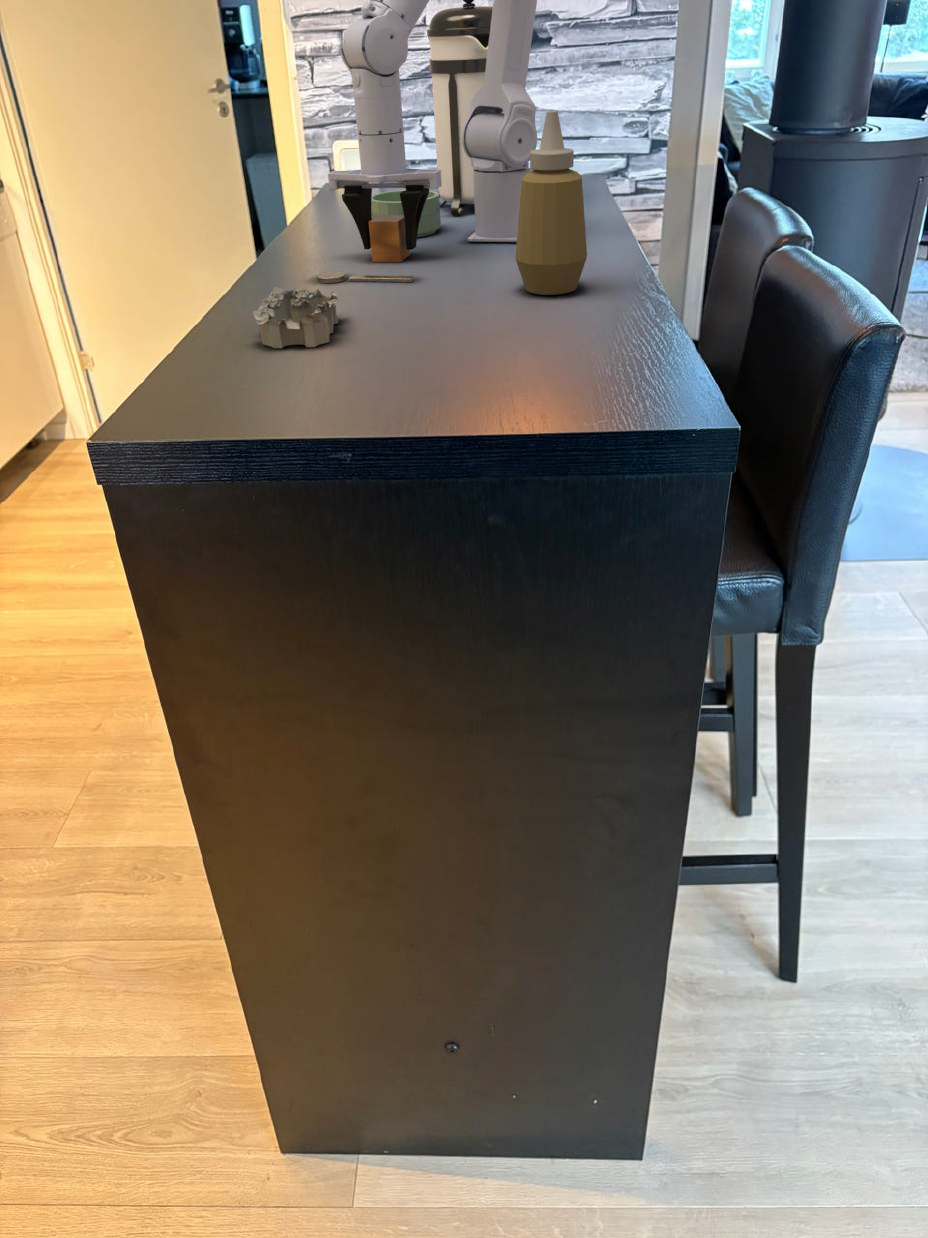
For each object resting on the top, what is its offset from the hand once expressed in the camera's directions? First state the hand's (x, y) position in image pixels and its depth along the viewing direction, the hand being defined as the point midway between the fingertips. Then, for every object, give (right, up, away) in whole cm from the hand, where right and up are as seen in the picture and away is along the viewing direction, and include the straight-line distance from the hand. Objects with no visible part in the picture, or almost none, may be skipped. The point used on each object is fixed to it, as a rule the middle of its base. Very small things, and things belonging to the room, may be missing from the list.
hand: (390, 247), depth 123 cm
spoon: (-3, -7, -8) cm, 12 cm away
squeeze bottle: (+20, -12, -16) cm, 28 cm away
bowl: (+1, +8, +15) cm, 17 cm away
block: (0, -1, +1) cm, 1 cm away
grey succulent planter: (-7, -20, -26) cm, 34 cm away
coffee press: (+11, +18, +30) cm, 37 cm away
